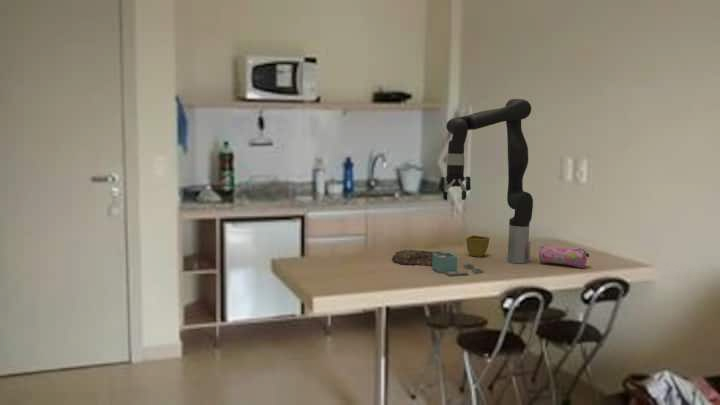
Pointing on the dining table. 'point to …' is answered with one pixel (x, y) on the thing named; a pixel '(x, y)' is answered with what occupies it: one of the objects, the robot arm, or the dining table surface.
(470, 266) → the frame
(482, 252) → the flower pot
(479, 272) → the frame
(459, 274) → the card
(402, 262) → the stone relief
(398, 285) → the dining table surface
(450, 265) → the teal open box
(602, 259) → the dining table surface
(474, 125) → the robot arm
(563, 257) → the pencil case
